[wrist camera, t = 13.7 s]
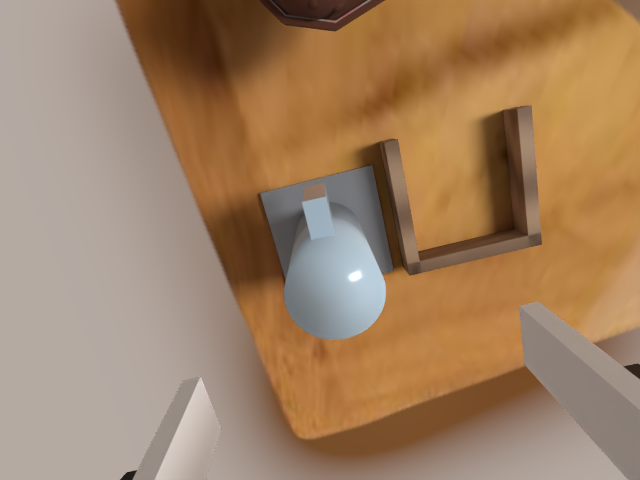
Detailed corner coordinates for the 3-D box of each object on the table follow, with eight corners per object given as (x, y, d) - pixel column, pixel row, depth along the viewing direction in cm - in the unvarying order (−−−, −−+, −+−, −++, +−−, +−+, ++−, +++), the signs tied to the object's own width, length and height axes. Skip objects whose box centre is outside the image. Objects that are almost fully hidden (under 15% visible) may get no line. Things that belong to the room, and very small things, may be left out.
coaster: (260, 192, 36) (259, 193, 35) (371, 164, 35) (372, 165, 35) (290, 294, 39) (290, 295, 39) (393, 269, 38) (393, 270, 38)
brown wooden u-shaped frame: (379, 141, 35) (384, 143, 32) (515, 107, 34) (531, 105, 32) (403, 266, 38) (409, 275, 36) (527, 237, 38) (541, 244, 35)
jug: (305, 270, 38) (298, 348, 24) (282, 184, 35) (260, 218, 22) (366, 256, 37) (394, 328, 24) (348, 168, 35) (367, 194, 21)
